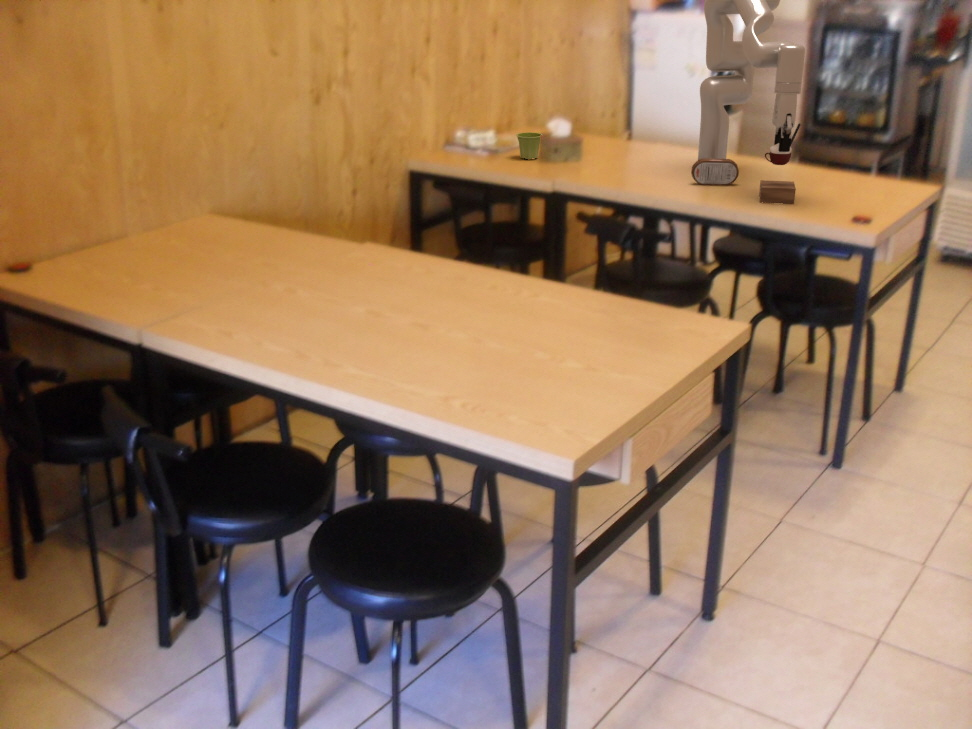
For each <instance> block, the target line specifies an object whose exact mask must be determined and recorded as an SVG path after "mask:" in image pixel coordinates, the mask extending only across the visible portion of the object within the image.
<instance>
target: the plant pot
mask: <svg viewBox="0 0 972 729" xmlns="http://www.w3.org/2000/svg"><path fill="white" fill-rule="evenodd" d="M540 135H542V136H543V134H542V133H540V132H533V131H532V132H531V131H530V132H520V133H517V134H516V137H517V140H518V145H519V147H518V148H519V155H520V159H521V158H525V159H524V160H526V159H532V158H537V157H539V149H540V144H541V140H540ZM537 159H538V158H537Z"/></svg>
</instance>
